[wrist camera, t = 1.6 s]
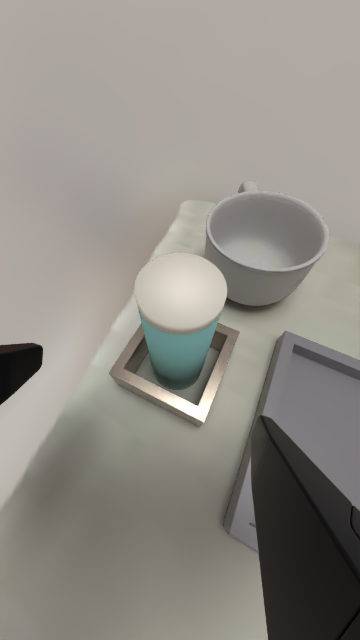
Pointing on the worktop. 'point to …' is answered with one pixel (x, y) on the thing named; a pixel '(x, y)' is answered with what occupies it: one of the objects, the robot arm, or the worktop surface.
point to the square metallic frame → (194, 414)
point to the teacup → (263, 243)
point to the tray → (306, 421)
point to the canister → (179, 314)
